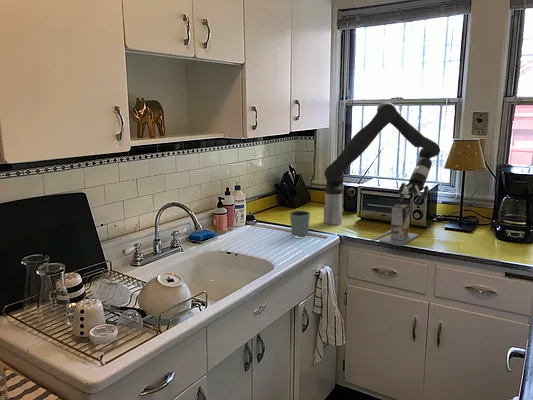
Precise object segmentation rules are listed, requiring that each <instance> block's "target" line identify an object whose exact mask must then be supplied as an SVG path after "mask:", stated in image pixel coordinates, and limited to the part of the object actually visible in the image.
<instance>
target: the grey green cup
mask: <svg viewBox="0 0 533 400" xmlns="http://www.w3.org/2000/svg"><path fill="white" fill-rule="evenodd" d="M310 215H311V213H310V212H309V211H306V210H296V211H295V210H294V211H291V212H290V213H289V217H290V218H289V219H290V228H291V236H292V235H294V236H298V237H305V236H307V235H308V236H309V234H308V232H309V230H310V229H309V227H310V218H311V217H310ZM309 233H310V232H309Z"/></svg>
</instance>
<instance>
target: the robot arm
mask: <svg viewBox="0 0 533 400" xmlns="http://www.w3.org/2000/svg"><path fill="white" fill-rule="evenodd" d="M389 124H390V125H392V127H394V128H395V129H396V130H397V131H398V132H399V133H400V134H401V135H402V136H403V137H404V138H405V140H406V141H408V142H409V144H411V145H412V146H413V147H414V148H420V150H419V152H418V161H417V163H416V164H415V168H413V172H412V173H411V175H410V178H409V180H408V183H407V184H406V183H404V182H402V183H401V184H400V186H399V188H398V190H397V193H398V195H399V197H398V200H399V202H400V203H402V202H403V200H404V198H405V196H406V195H409V194H414V195H418V196H417V198H416V201H415V204H416V205H419V204H421V201H422V199H427V198H428V197H427V196H428V194H429V191H430V188H429V185H425V184H426V181H427V179H428V176H429V173H430V171H431V168H432V165H433V161H432V160H431V159H432V158H434V157H437V156H438V155H439V154H440V153H441V148H440V146H439V144H438V143H436V142H435V141H433V140H431V139H430V138H428V137H426V136H424V135H423V134H422V133H421V132H420V131H419V130H418V129H417V128H416V127H414V126H413V124H411V123H410V122H408V120H407V119H405V118H404V117H403V116H402V114H400V113H399V111H398V110H397V108H396V107H395V105H394V104H393V103H392V102H390V101H381V103H379V104H378V106H377V108H376V114H375V115H374V116H373V117H372V118H371V120H370V121H369V122H368V124H366V125H365V126H364V127H362V128H361V129H359V131H358V132H357V133H355V135H354V136H353V137H351V139H350V140H349V142H348V143H347V144H346V146H345V147H344V149H343V150H342V151H341V153H340V154H339V155H338V157H337V158H336V159H335V160H334V161H333V162H331V163H330V164H329V165H328V166H327V167H326V168H325V171H324V178H325V180H326V184H325V185H326V186H325V190H324V191H325V198H324V199H325V200H324V201H325V202H324V203H325V205H324V206H323V223H325V224H326V225H329V224H330V225H331V226H337V225H341V224H342V223H343V219H342V218H343V188H344V173H345V172H346V170H347V168H348V167H349V166H350V165H352V163H353V162H355V161H356V160H357V159H359V157H360V156H361V155H362V154H363V153H364V152H365V151H366V150H367V149H368V148H369V146H370V145H371V144H372V143H373V142H374V140H375V139H376V138H377V136H378V135H379V134H380V132H381V131H382V130H384V129H385V128H386V127H387V126H388V125H389ZM422 191H423V192H422ZM421 192H422V193H421Z"/></svg>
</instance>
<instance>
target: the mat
mask: <svg viewBox="0 0 533 400" xmlns="http://www.w3.org/2000/svg"><path fill="white" fill-rule="evenodd" d="M418 237H419V234H417V233H412V232H409V234H408V237H406V238H405V239H404V240H396V239H391V234H388V235H387V236H385V237H383V238H381V239H379V243H382V242H383V243H384V244H388V245H391V246H398V247H402V246H404V245H405V244H408V243H409V242H410V241H412V240H414V239H416V238H418Z"/></svg>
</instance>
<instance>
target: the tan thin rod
mask: <svg viewBox="0 0 533 400" xmlns="http://www.w3.org/2000/svg"><path fill="white" fill-rule="evenodd" d="M389 234H391V229H389V230H387V231H386V232H384V233H382V234H380V235H377V236H375V237H374V238H371V239H370V242H375V241H376V239H377V240H380V238H381V239H382V237H383V238H384V236H385V237H386V235H387V236H388V235H389ZM374 240H375V241H374Z"/></svg>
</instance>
